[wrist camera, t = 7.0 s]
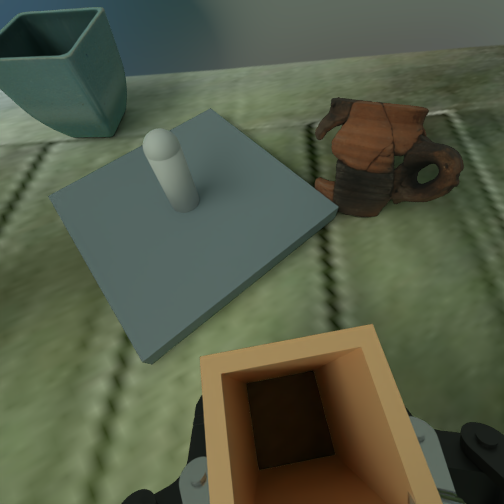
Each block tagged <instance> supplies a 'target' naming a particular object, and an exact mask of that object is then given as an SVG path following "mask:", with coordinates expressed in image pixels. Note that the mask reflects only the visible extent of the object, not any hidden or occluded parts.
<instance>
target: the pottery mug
mask: <svg viewBox="0 0 504 504" xmlns="http://www.w3.org/2000/svg"><path fill="white" fill-rule="evenodd" d="M428 112H429V110H428V109H427V108H424V107H419V106H411V105H400V104H391V103H381V102H372V101H363V100H353V99H345V98H339V97H338V98H333V99H332V100H331V107H330V111H329V113H328V114H327V115H326V116H325V117H324V118H323V119H322V121H321V122H320V123H319V126H318V127H317V129H316V132H315V135H316V138H317V139H318V140H321V139H323V138H324V136H325V135H326V133H327V132H328V131H330V130H331V129H333V128H334V127H336V126H339V125H342V124H343V125H342V127H341V129H340V130H339V131H338V133H337V134H336V136H335V137H334V139H333V140H332V152H333V154H334V155H335V156H336V157H337V158H338V160H337V164H336V182H335V181H329V180H326V179H323V178H321V177H319V178H317V179H316V181H315V189H316V190H317V191H319V192H320V193H321V194H323V195H324V196H325V197H326V198H328V199H329V200H330V201H332V202H333V203H334V204H336V205H337V206H338V207H339V208H338V210H337V211H338V212H342V213H344V214H346V215H353V216H359V217H372V216H377V215H378V214H379V213H380V211H381V210H382V208H383V207H384V206H385V205H386V204H387V203H388V202H389V201H390V200H391V199H392V200H393V203H394V204H398V203H400V202H403V201H409V202H427V201H431V200H434V199H436V198H439V197H441V196H444V195H445V194H447V193H449V192H450V191H451V190H452V189H453V187H455V186H458V185H459V175H460V172H461V171H462V170H463V168H464V164H463V160H462V157H461V155H460V154H459V152H458V151H457V150H455V149H454V148H452V147H450V146H448V145H444V144H438V143H434V142H432V141H431V140H430V139H429V138H428V137H426V132H425V129H424V128H423V122H424V120H425V117H426V115H427V114H428ZM403 155H404V162H403V163H402V164H400V165H399V166H398V167H397V168H395V169H394V156H403ZM430 164H436V165H437V166H438V168H439V173H438V175H437V176H436V178H435V179H433V180H431V181H429V182H426V183H424V184H420V183H418V181H417V176H418V172H419V171H420V170H421V169H422V168H424V167H426V166H428V165H430Z"/></svg>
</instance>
